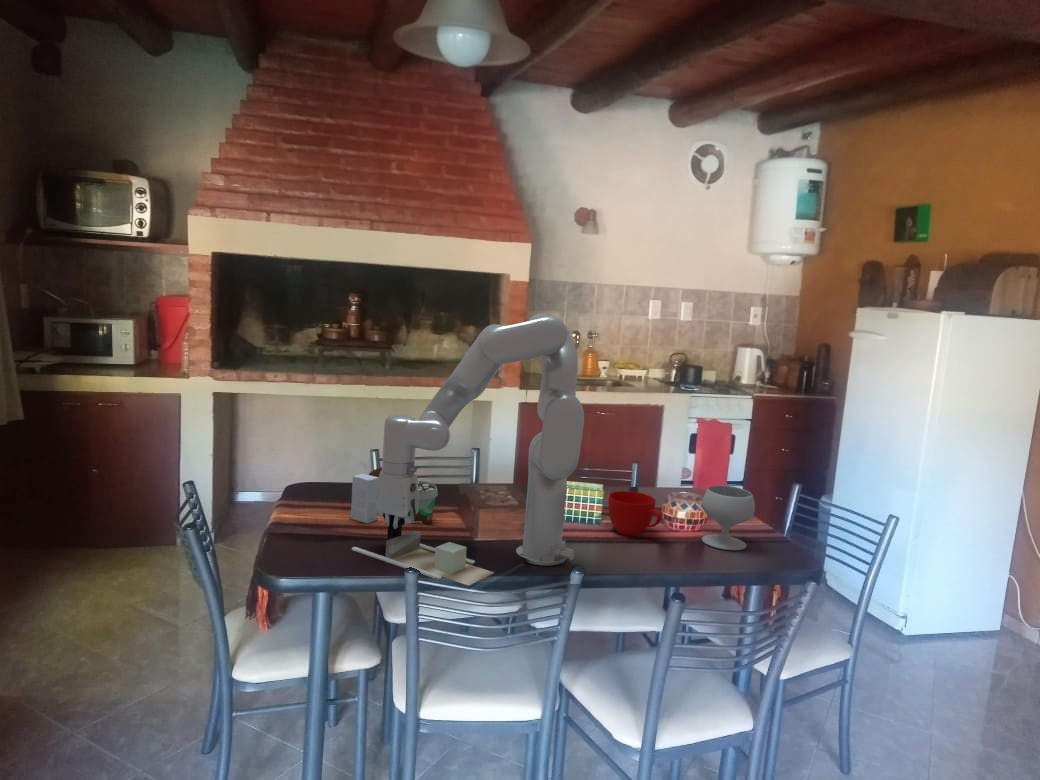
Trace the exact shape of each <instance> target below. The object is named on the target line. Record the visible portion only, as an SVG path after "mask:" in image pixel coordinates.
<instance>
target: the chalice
mask: <svg viewBox="0 0 1040 780" xmlns="http://www.w3.org/2000/svg"><path fill="white" fill-rule="evenodd" d="M701 502H702V503H701V505H702V509H703V510H702V511H703V512H704V513H705V514H706V515H707V516H709V517H710V518H711V519H712V520H714V521H715V522H716V523H718V525H719V526H720V528H721V533H720V534H717V533H716V534H714V533H713V534H706V535H703V536H702V537H701V542H702V543H704V544H705V545H707V546H710V547H713V548H716V549H719V550H726V551H741V550H745V549H747V547H748V545H747V543H746V542H744V541H743V540H742V539H739V538H737V537H733V536H730V534H729V533H730V530H731V529H732V528H733V527H735V526H736V525H737V526H738V525H739V524H743V523H745V522H747V521H749V520H751V519H752V517H753V516H755V512H756V511H755V510H756V505H755V498H754V496H753V494H752V492H751V491H749V490H747V489H743V488H740V487H736V486H730V485H721V484H720V485H719V484H717V485H711V486H708V488H706V491H705V493H704V494H703V498H702V501H701Z"/></svg>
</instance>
